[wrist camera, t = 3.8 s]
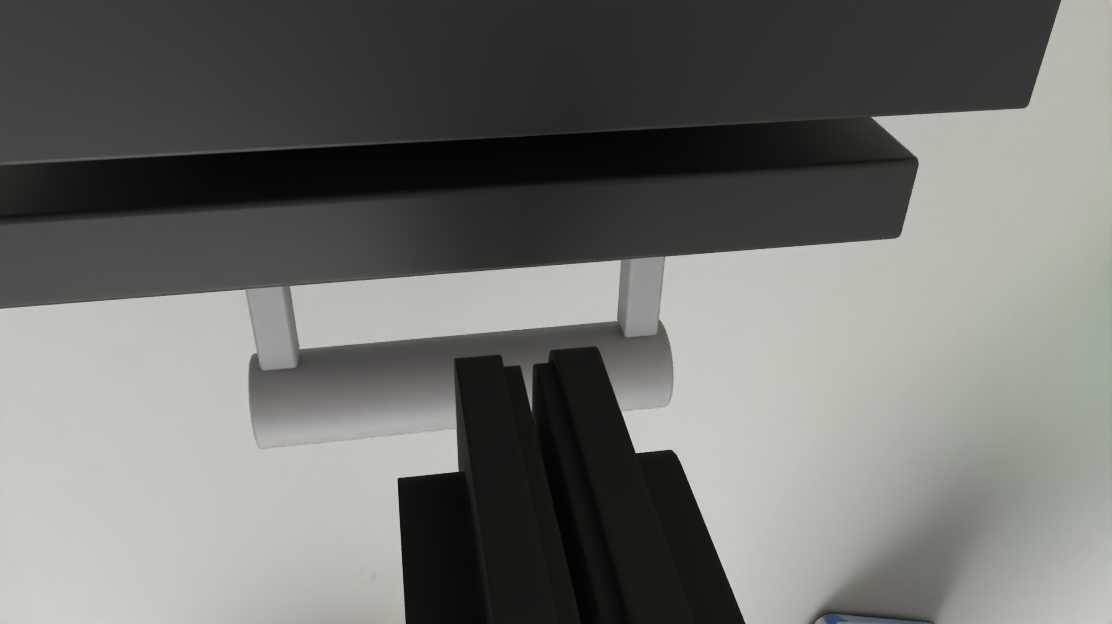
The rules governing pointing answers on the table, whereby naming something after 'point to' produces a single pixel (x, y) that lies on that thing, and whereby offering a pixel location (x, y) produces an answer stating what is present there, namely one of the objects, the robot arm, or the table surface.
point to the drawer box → (484, 68)
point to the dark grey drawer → (439, 243)
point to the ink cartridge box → (861, 620)
